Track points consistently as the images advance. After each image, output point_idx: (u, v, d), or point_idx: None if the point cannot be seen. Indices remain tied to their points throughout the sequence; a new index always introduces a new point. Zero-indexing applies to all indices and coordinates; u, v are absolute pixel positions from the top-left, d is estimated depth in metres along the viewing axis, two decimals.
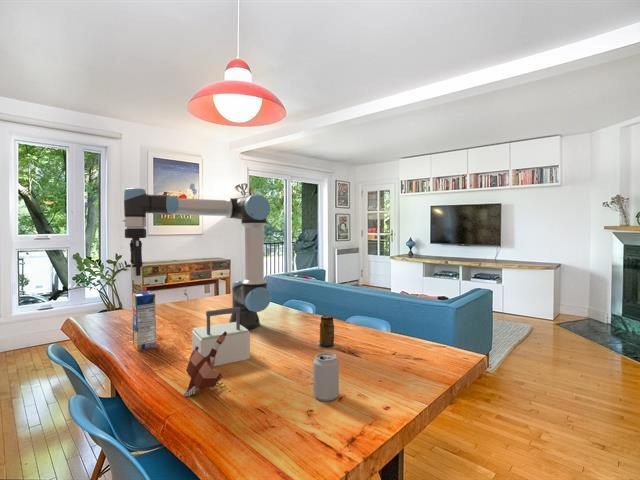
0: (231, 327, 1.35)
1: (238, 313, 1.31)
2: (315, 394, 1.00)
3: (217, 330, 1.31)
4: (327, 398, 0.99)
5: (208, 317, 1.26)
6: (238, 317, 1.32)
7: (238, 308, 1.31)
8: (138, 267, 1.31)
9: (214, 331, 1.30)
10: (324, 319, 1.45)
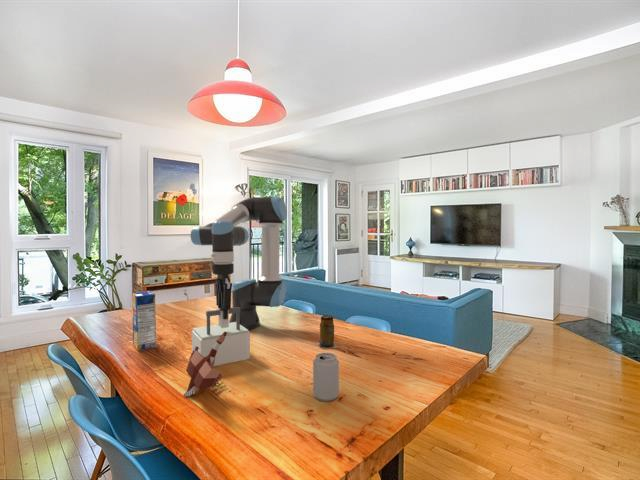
0: (231, 327, 1.35)
1: (238, 313, 1.31)
2: (315, 394, 1.00)
3: (217, 330, 1.31)
4: (327, 398, 0.99)
5: (208, 317, 1.26)
6: (238, 317, 1.32)
7: (238, 308, 1.31)
8: (226, 310, 1.26)
9: (214, 331, 1.30)
10: (324, 319, 1.45)
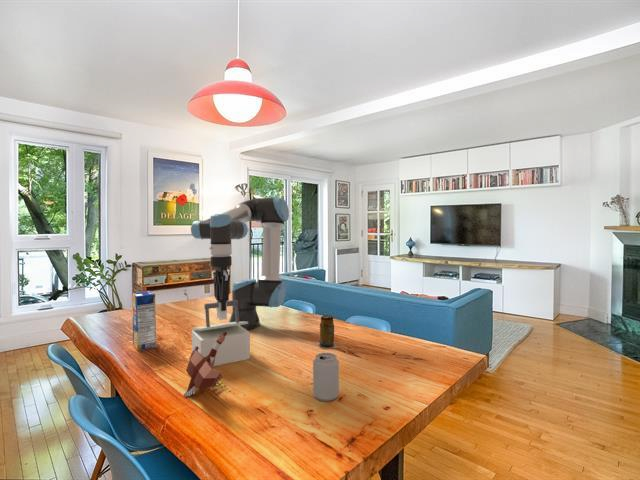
0: None
1: (236, 306, 1.33)
2: (315, 394, 1.00)
3: (217, 325, 1.31)
4: (327, 398, 0.99)
5: (207, 309, 1.27)
6: (237, 310, 1.33)
7: (236, 301, 1.33)
8: (224, 302, 1.28)
9: None
10: (324, 319, 1.45)
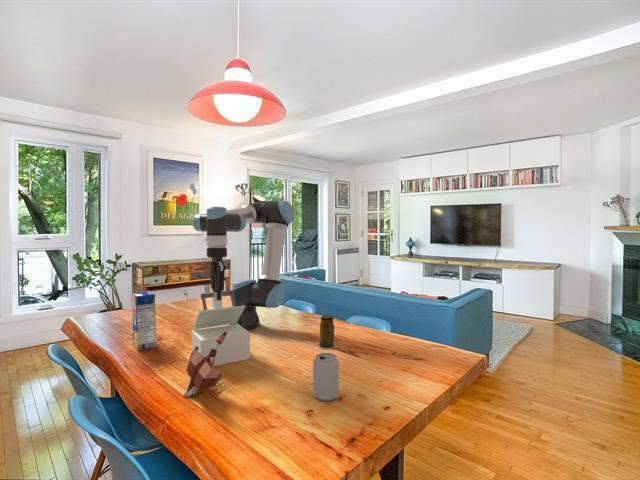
0: None
1: (232, 295, 1.37)
2: (315, 394, 1.00)
3: None
4: (327, 398, 0.99)
5: (203, 298, 1.31)
6: (233, 298, 1.36)
7: (231, 290, 1.38)
8: (219, 292, 1.33)
9: None
10: (324, 319, 1.45)
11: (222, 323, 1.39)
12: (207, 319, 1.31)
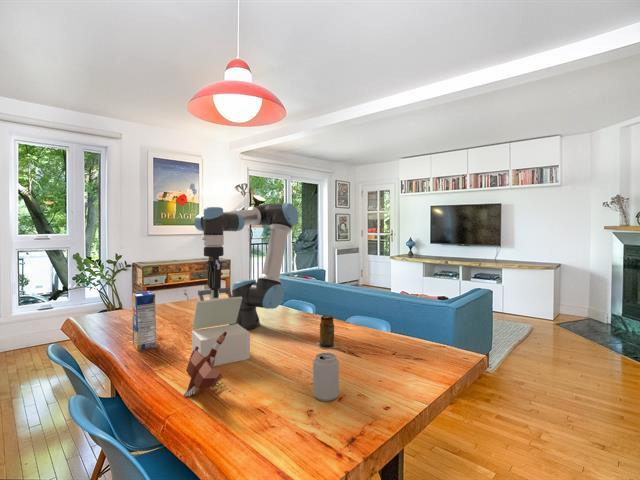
0: None
1: (228, 291, 1.41)
2: (315, 394, 1.00)
3: None
4: (327, 398, 0.99)
5: (200, 294, 1.35)
6: (229, 293, 1.40)
7: None
8: (216, 290, 1.36)
9: None
10: (324, 319, 1.45)
11: (222, 322, 1.39)
12: (206, 313, 1.32)
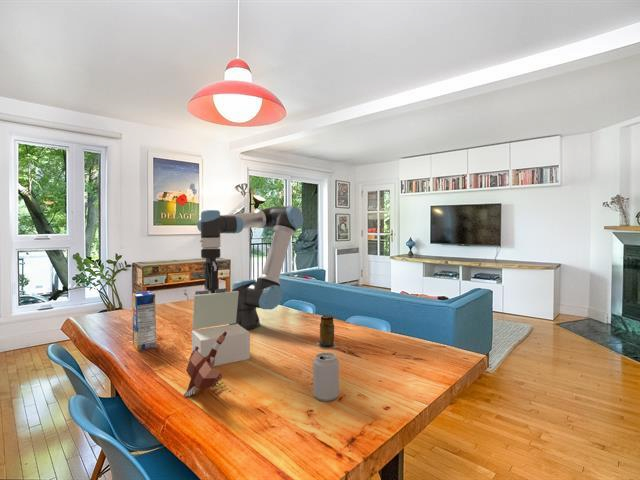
0: None
1: (225, 290, 1.44)
2: (315, 394, 1.00)
3: None
4: (327, 398, 0.99)
5: (197, 293, 1.38)
6: None
7: None
8: (213, 291, 1.40)
9: None
10: (324, 319, 1.45)
11: (221, 321, 1.40)
12: (204, 309, 1.34)
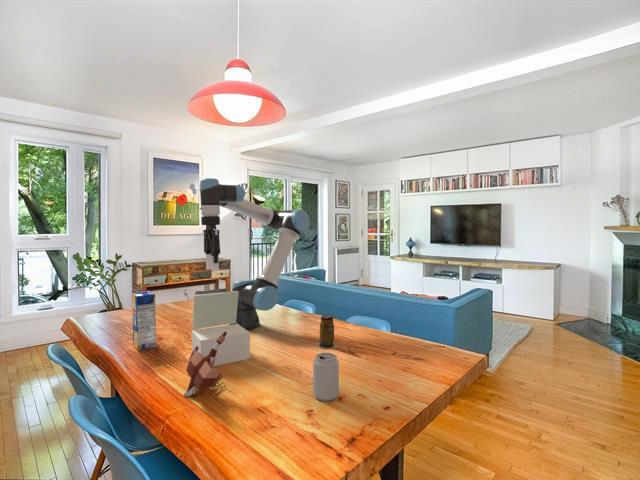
0: None
1: (225, 290, 1.44)
2: (315, 394, 1.00)
3: None
4: (327, 398, 0.99)
5: (197, 293, 1.38)
6: None
7: None
8: (216, 255, 1.43)
9: None
10: (324, 319, 1.45)
11: (221, 321, 1.40)
12: (204, 309, 1.34)
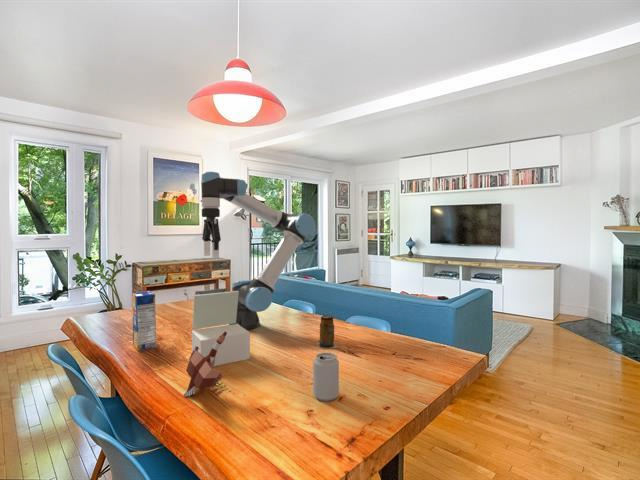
0: None
1: (225, 290, 1.44)
2: (315, 394, 1.00)
3: None
4: (327, 398, 0.99)
5: (197, 293, 1.38)
6: None
7: None
8: (216, 242, 1.45)
9: None
10: (324, 319, 1.45)
11: (221, 321, 1.40)
12: (204, 309, 1.34)
